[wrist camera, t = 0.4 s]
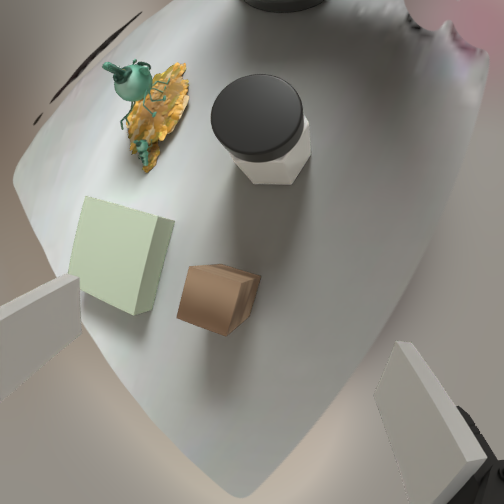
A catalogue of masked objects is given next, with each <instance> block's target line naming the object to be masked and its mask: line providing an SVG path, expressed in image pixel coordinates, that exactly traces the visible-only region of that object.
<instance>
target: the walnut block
mask: <svg viewBox="0 0 504 504" xmlns="http://www.w3.org/2000/svg"><path fill="white" fill-rule="evenodd" d="M260 278H261V276H259V275H255V274H252V273H249V272H246V271H242V270H239V269H236V268H233V267H229V266H226V265H223V264H215V265H201V266H189V269H188V273H187V277H186V281H185V285H184V289H183V293H182V297H181V301H180V305H179V309H178V313H177V318H178V319H180V320H183V321H185V322H188V323H191V324H193V325H196V326H199V327H201V328H204V329H207V330H210V331H212V332H215V333H218V334H221V335H223V336H227V335H229V334H230V333H231V332H232V331H233V330H234V329H236V328H237V327H238V326H239V325H240V324H241V323H242V322H244V321H245V320H246V319H247V318H248V317H249V316H250V313H251V309H252V306H253V303H254V299H255V296H256V292H257V289H258V285H259V282H260Z"/></svg>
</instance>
